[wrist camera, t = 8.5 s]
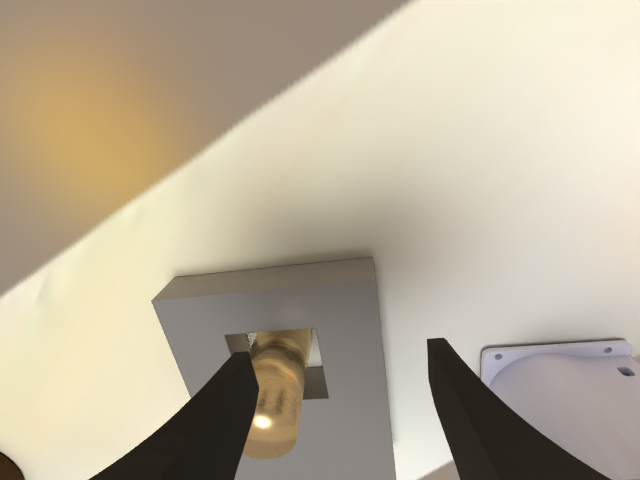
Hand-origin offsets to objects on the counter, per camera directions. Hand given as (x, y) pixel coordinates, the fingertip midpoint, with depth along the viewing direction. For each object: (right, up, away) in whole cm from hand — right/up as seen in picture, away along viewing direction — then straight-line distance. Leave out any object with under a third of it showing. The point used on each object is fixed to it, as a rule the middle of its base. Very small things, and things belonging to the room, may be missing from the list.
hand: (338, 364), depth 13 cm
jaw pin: (-3, -2, +11) cm, 12 cm away
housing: (-3, -5, +13) cm, 14 cm away
